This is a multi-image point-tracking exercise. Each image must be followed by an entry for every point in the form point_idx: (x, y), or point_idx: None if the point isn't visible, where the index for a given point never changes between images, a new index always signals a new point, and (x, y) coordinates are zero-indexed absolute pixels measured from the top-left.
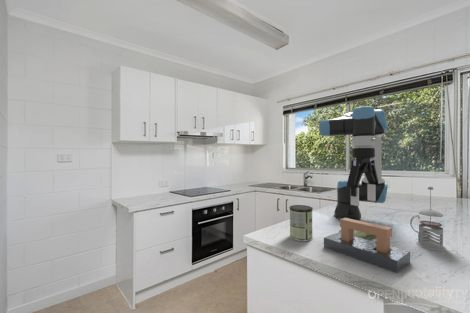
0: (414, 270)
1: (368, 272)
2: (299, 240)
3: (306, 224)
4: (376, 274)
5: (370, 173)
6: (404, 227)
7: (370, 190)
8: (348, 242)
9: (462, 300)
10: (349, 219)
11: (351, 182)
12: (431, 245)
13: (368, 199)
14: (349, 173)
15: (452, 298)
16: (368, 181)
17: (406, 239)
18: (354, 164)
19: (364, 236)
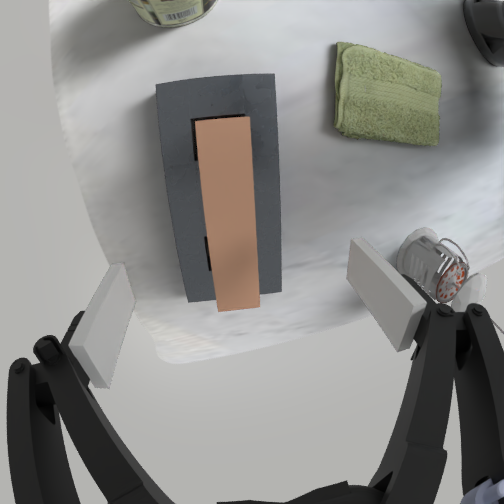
0: None
1: (133, 254)
2: (140, 16)
3: (146, 4)
4: (141, 267)
5: (385, 456)
6: (499, 170)
7: (382, 295)
8: (190, 162)
9: (192, 360)
10: (232, 150)
11: (53, 388)
12: (406, 266)
13: (352, 247)
14: (8, 451)
15: (185, 353)
16: (428, 329)
17: (432, 204)
18: None
19: (351, 131)
